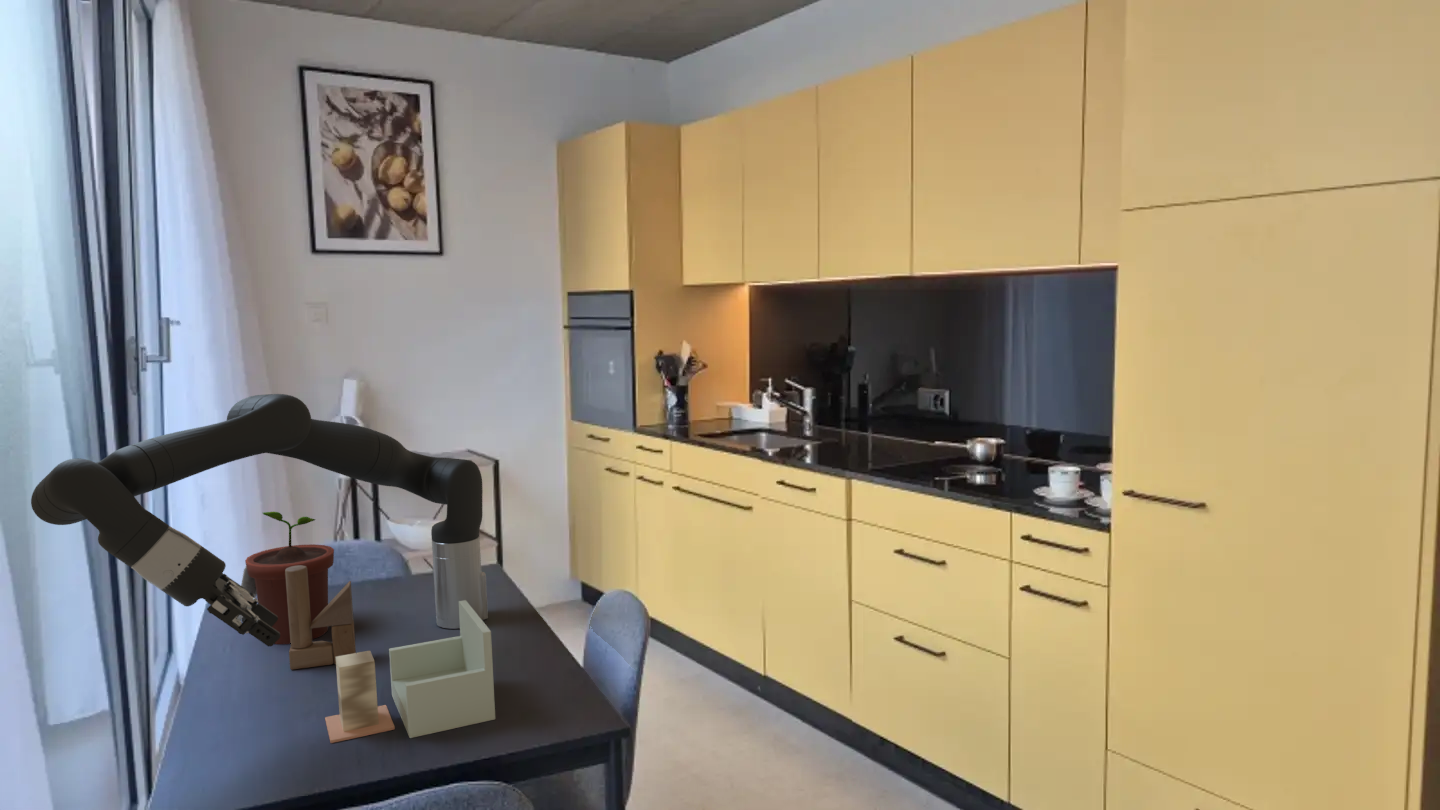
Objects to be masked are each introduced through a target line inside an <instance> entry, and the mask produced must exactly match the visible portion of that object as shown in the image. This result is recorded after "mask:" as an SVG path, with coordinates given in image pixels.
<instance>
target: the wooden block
mask: <svg viewBox="0 0 1440 810" xmlns="http://www.w3.org/2000/svg"><path fill="white" fill-rule="evenodd" d="M285 576H286V589H287V603H288V616H289V629H290V643H291V644H290V647H289V649H288V650H289V651H288V657H289V658H288V659H289V669H290V670H292V671H293V670H299V669H306V668H316V667H324V666H331V665H333V664H334V665H336V656H342V655H348V654H353V653H357V649H356V636H355V633H356V632H355V620H354V608H353V607H354V606H353V595H352V594H353V593H352V580H349V581H348V582H347V583H346V584H345V585H344V587H342V589H340V591H339V592H337V594H336V595H335V596H334V597H333V598H332V600H330V602H328V605H327V606H326V607H325V608H324V609H323V610H322V611H321V612H320V614H319V615H318V616H317V617H316V618H315V619H314V620H313V621H312V623H311V615H310V601H309V587H308V573H307V567H306V566H303V565H297V566H291V567H288V568H286V570H285ZM320 627H328V628H329V627H331V630H330V631H331V641H325V640H317V641H313V639H312V628H320Z"/></svg>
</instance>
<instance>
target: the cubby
mask: <svg viewBox="0 0 1440 810" xmlns="http://www.w3.org/2000/svg"><path fill="white" fill-rule="evenodd" d="M459 620H460V628H459V635H458V636H453V637H446V638H440V639H436V640H430V641H429V640H428V641H424V642H418V643H414V644H408V645H403V646H396V647H391V648H388V651H389V652H388V655H389V671H390V673H389V674H390V685H391V686H390V687H391V696H392V699H393V702H394V704H395V707H396V709H397V711H398V714H399V716H400V719H401V721H402V723H403V725H404V729H405V730H406V733H407V735H408V737H409V739H413V738H417V737H421V736H427V735H431V734H434V733H439V732H444V731H448V730H453V729H456V728H461V727H467V726H472V725H476V724H479V723H484V722H489V721H493V720H496V709H495V708H496V705H495V704H496V703H495V688H494V685H495V684H494V668H493V667H494V665H493V646H492V644H493V643H492V630H490V628H489V627H488V626H487V624H485V622H484V620H483V621H482V620H481V618H480V617H479V616H478V615H477V613H476V612H475V611H474V610H473V609H472V607H471V606H470V605H469V604H468V602H467V601H466V600H464V601H459Z"/></svg>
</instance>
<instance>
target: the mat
mask: <svg viewBox="0 0 1440 810" xmlns="http://www.w3.org/2000/svg"><path fill="white" fill-rule="evenodd" d="M377 706H378V721H379V724H378V725H373V726H369V727H364V728H359V729H355V730H350V731H346V732H343V728H342V725H341V721H340V714H335V715H329V716H325V717H324V719H325V725H326V729H327V734H328V738H329V742H330V744H334V743H339V742H343V741H348V740H351V739H356V738H361V737H365V736H369V735H375V734H380V733H384V732H389V731H392V730H393V731H394V730H395V728H396V727H395V724H394V722H393V720H392V717H391V713H390V711H389V709H388V706H387V705H386V704H384V705H377Z"/></svg>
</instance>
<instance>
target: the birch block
mask: <svg viewBox="0 0 1440 810" xmlns="http://www.w3.org/2000/svg"><path fill="white" fill-rule="evenodd" d="M335 667H336V668H335V669H336V685H337V696H338V697H337V698H338V710H339V711H338V713H339V714H340V721H341V725H342V728H343V732H346V731H350V730H355V729H359V728H364V727H369V726H373V725H378V724H379V721H378V706H379V705H378V695H377V693H378V692H377V691H378V690H377V680H376V679H377V677H376V662H375V659H374V657H373V654H372V652H371V650H366V651H365V650H364V651H359V652H356V653H353V654H348V655H342V656H336V664H335Z"/></svg>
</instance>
